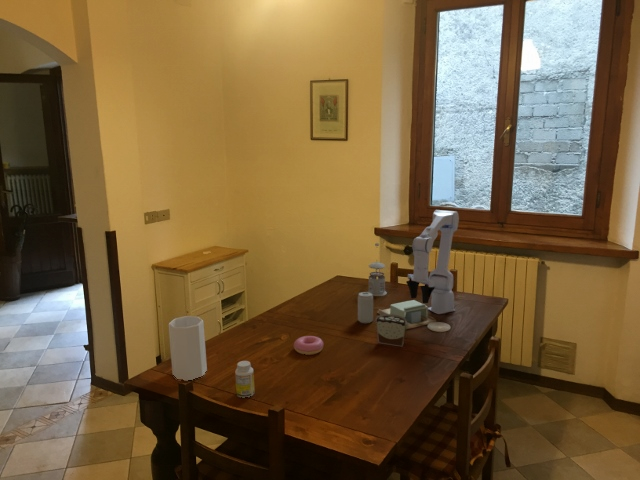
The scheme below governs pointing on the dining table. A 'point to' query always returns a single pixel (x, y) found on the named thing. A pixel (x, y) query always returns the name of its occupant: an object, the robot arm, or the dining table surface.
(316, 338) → the doughnut
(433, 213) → the robot arm
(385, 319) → the food container
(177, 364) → the cup
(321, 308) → the dining table surface
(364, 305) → the beverage can
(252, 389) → the supplement bottle
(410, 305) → the sliding cover
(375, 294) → the french press
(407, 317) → the slate-blue block
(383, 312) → the beige open frame
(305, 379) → the dining table surface
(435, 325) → the cream saucer
